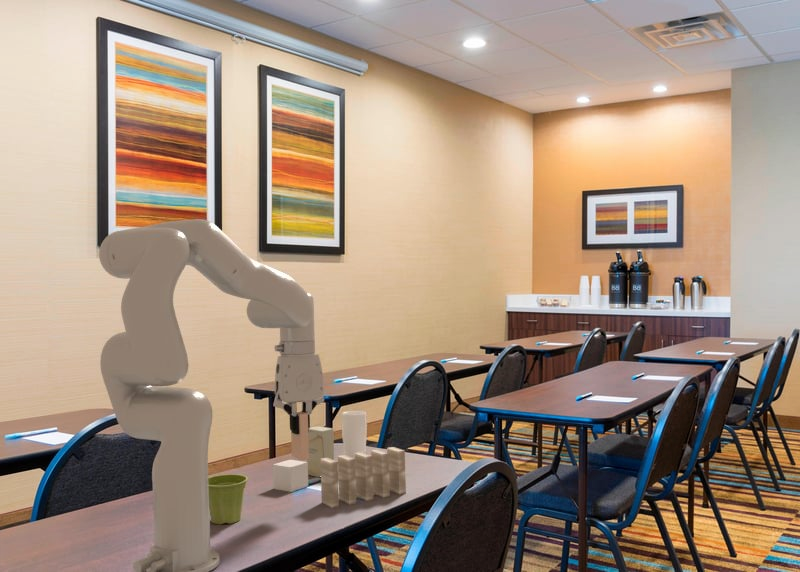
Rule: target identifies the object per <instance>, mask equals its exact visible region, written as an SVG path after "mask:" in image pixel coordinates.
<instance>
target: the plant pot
mask: <svg viewBox="0 0 800 572" xmlns="http://www.w3.org/2000/svg"><path fill="white" fill-rule="evenodd" d="M248 480H249V478H248V476H246V475H244V474H239V473H238V474H236V473H229V474H226V473H224V474H219V475H218V474H217V475H213V476H208V485H209V517H210V520H211V523H213V524H216V525H224V524H235V523H237V522H239V521H240V520H241V519H242V510H243V501H244V490H245V488H246V484H247V482H248Z"/></svg>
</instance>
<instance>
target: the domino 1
mask: <svg viewBox="0 0 800 572" xmlns="http://www.w3.org/2000/svg"><path fill="white" fill-rule="evenodd" d="M297 416H299V434H294V433H292V431H291V430H290V431H291V432H290V433H291V436H290V437H291V457H292V458H295V459H297V460H298V461H307V460H308V459H309V439H308V413H305V412H302V410H298V409H297Z"/></svg>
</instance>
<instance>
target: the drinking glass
mask: <svg viewBox="0 0 800 572" xmlns="http://www.w3.org/2000/svg"><path fill="white" fill-rule="evenodd" d="M340 416H341V418H340V419H341V421H340V422H341V424H340V425H341V435H342V445H343V455H347V456H349V457H352V458H355V453H359V452H362V453H365V454H366V452H367V451H366V449H367V447H366V446H367V433H368V432H367V431H368V430H367V429H368V428H367V427H368V423H367V421H368V420H367V419H368V418H367V412H366V411H364V410H348V411H343V412H341V414H340Z"/></svg>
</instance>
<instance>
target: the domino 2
mask: <svg viewBox="0 0 800 572" xmlns="http://www.w3.org/2000/svg"><path fill="white" fill-rule="evenodd" d="M320 482H321V483H320V486H321V487H320V488H321V503H322V504H323V505H325V506H327V507H329V508H331V509H334V508H339V507H340V500H339V480H338V460H335V459H334V460H332V459H330V458H322V459H321V478H320Z"/></svg>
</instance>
